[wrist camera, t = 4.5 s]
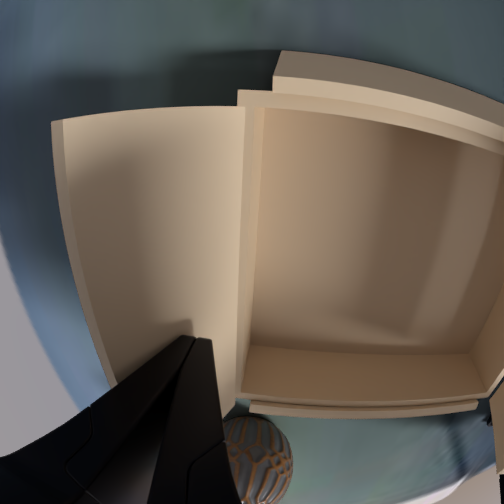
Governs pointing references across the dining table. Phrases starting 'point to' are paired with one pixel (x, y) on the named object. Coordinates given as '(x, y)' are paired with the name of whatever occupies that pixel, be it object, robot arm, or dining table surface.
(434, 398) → the carton
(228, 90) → the dining table surface
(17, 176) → the dining table surface
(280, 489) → the vase
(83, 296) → the flap left
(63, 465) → the robot arm
